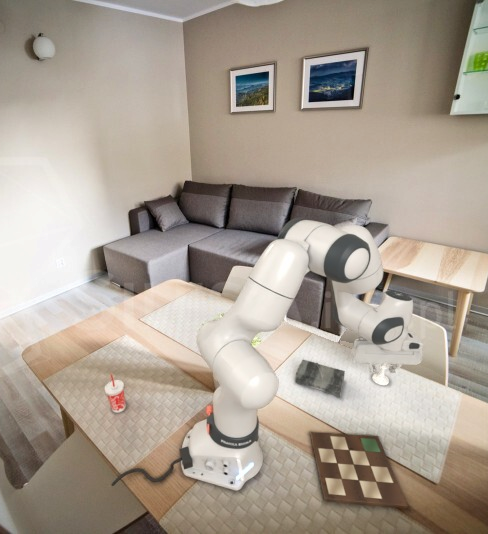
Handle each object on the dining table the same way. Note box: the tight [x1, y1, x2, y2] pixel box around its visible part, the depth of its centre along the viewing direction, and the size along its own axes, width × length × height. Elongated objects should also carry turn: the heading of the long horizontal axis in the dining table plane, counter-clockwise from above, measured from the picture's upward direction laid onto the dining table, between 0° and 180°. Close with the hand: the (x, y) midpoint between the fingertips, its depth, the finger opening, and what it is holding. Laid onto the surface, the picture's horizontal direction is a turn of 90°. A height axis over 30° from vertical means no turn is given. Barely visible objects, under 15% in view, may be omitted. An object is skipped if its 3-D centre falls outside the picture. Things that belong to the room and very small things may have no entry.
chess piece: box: [371, 364, 390, 386], centre depth 108 cm, size 5×5×10 cm
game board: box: [309, 431, 408, 510], centre depth 84 cm, size 18×18×1 cm
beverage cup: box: [104, 374, 127, 414], centre depth 106 cm, size 6×6×14 cm
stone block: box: [295, 359, 346, 398], centre depth 110 cm, size 9×14×5 cm, turn 58°
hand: (382, 371), depth 109 cm, fingers open, 5 cm apart
